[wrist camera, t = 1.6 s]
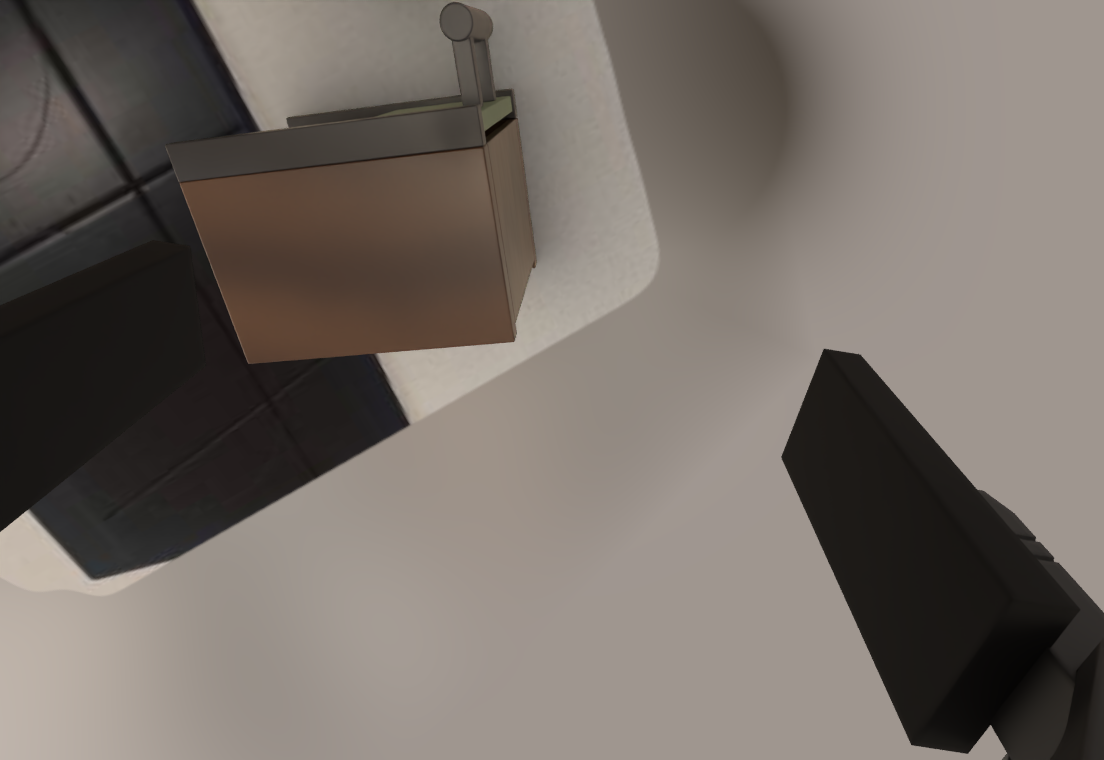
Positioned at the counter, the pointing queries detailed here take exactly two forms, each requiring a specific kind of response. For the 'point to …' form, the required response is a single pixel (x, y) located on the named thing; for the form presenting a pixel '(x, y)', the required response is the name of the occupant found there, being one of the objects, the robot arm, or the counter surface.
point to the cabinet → (365, 229)
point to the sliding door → (470, 63)
